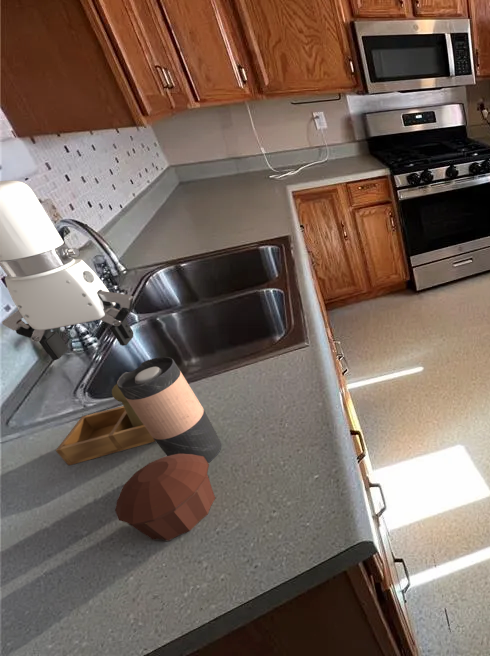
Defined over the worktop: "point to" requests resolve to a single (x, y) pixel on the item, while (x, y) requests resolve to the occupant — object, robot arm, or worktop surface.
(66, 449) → the tray
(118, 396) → the cork
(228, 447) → the worktop surface
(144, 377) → the travel mug
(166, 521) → the muffin
